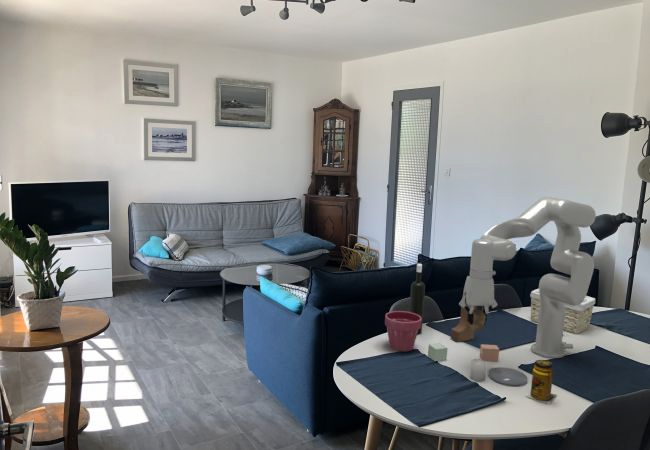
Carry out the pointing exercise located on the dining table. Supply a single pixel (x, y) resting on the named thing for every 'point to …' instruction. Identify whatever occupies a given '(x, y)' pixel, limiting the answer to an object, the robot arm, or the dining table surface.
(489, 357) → the terracotta brick
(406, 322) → the plant pot
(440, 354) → the sage cube
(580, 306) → the storage basket
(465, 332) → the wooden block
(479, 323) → the walnut block
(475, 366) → the grey cylinder
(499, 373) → the slate coaster
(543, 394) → the condiment
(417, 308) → the wine bottle
